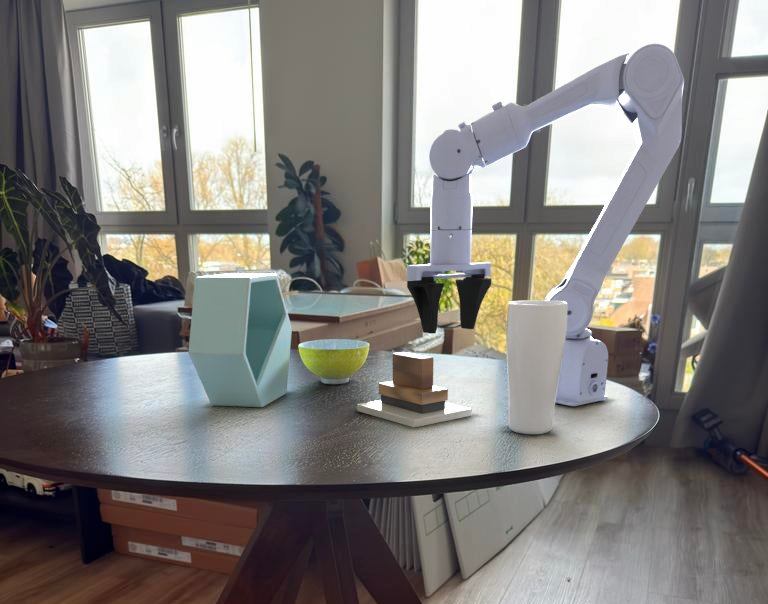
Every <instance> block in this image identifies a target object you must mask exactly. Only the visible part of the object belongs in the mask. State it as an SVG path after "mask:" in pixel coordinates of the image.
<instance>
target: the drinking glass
mask: <svg viewBox="0 0 768 604" xmlns="http://www.w3.org/2000/svg"><path fill="white" fill-rule="evenodd" d="M567 305H568V304H567V303H566V302H563V301H550V300H545V299H527V300H525V299H523V300H522V299H521V300H512V301H509V302H508V306H507V319H506V337H505V338H506V344H505V345H506V366H507V367H506V369H507V370H506V371H507V405H508V407H507V408H508V410H507V414H508V415H507V427H508V429H509V430H510V431H511V432H513V433H517V434H520V435H521V434H522V435H544V434H547V433H549V432H550V431H552V429H553V426H554V416H555V415H554V414H555V407H556V403H555V401H556V395H557V389H558V382H559V376H560V370H561V364H562V358H563V352H564V346H565V338H566V328H567Z"/></svg>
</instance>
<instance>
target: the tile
mask: <svg viewBox="0 0 768 604" xmlns="http://www.w3.org/2000/svg"><path fill="white" fill-rule="evenodd" d="M356 406H357V407H356V409H357V412H359V413H363V414H365V415H368V416H369V415H370V416H373V417H377V418H379V419H382V420H383V419H384V420H387V421H391V422H393V423H397V424H400V425H403V426H406V427H407V426H408V427H411V428H419V427H423V426H429V425H433V424H439V423H443V422H448V421H452V420H457V419H458V420H459V419H463V418H468V417H472V414H473V410H472V409H473V408H471V407H466V406H462V405H459V404H454V403H450V402H446V401H445V409H443V410H438V411H433V412H427V413H418V412H414V411H410V410H406V409H403V408H399V407H395V406H391V405H388V404H384V403H381V399H379V400H374V401H367V402H362V403H357V404H356Z"/></svg>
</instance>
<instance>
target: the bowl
mask: <svg viewBox="0 0 768 604" xmlns="http://www.w3.org/2000/svg"><path fill="white" fill-rule="evenodd" d="M369 351H370V343H369V342H367V341H364V340H358V339H347V338H332V339H330V338H329V339H316V340H309V341H304V342H301V343H298V354H299V356H300V359H301V361H302V363H303V364H304V366H305V368H307V369H308V370H309V371H310V372H311V373H312V374H314V375H316V376H318V377H319V378H320V383H322V384H325V385H342V384H347V383H349V380H350V377H351V376H352V375H355V374H356V373H357V372H358V371H359V370H360V369H361V368H362V367H363V366H364V364H365V362H366V361H367V358H368V355H369Z"/></svg>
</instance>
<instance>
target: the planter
mask: <svg viewBox="0 0 768 604" xmlns="http://www.w3.org/2000/svg"><path fill="white" fill-rule="evenodd" d="M193 286H194V287H193V297H192V308H191V321H190V330H189V331H190V332H189V342H188V355H189V358H190V360H191V362H192V365H193V366H194V369H195V371H196V373H197V376H198V378H199V381H200V382H201V385H202V387H203V390H204V392H205V394H206V396H207V398H208V400H209V403H210V405H211V406H219V407H241V408H246V407H247V408H263V407H265V406H267V405H269V404H271V403H273V402H274V401H276V400H277V399H279V398H281V397H283V396H285V395H286V394H287V391H288V390H287V389H288V382H289V369H290V356H291V346H292V345H291V343H292V332H293V331H292V330H293V327H292V323H291V320H290V317H289V313H288V309H287V305H286V303H285V298H284V296H283V295H284V294H283V291H282V288H281V283H280V281H279V277H278V275H277V273H222V274H221V273H220V274H213V275H212V274H211V275H202V276H195V278H194V285H193Z"/></svg>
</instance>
